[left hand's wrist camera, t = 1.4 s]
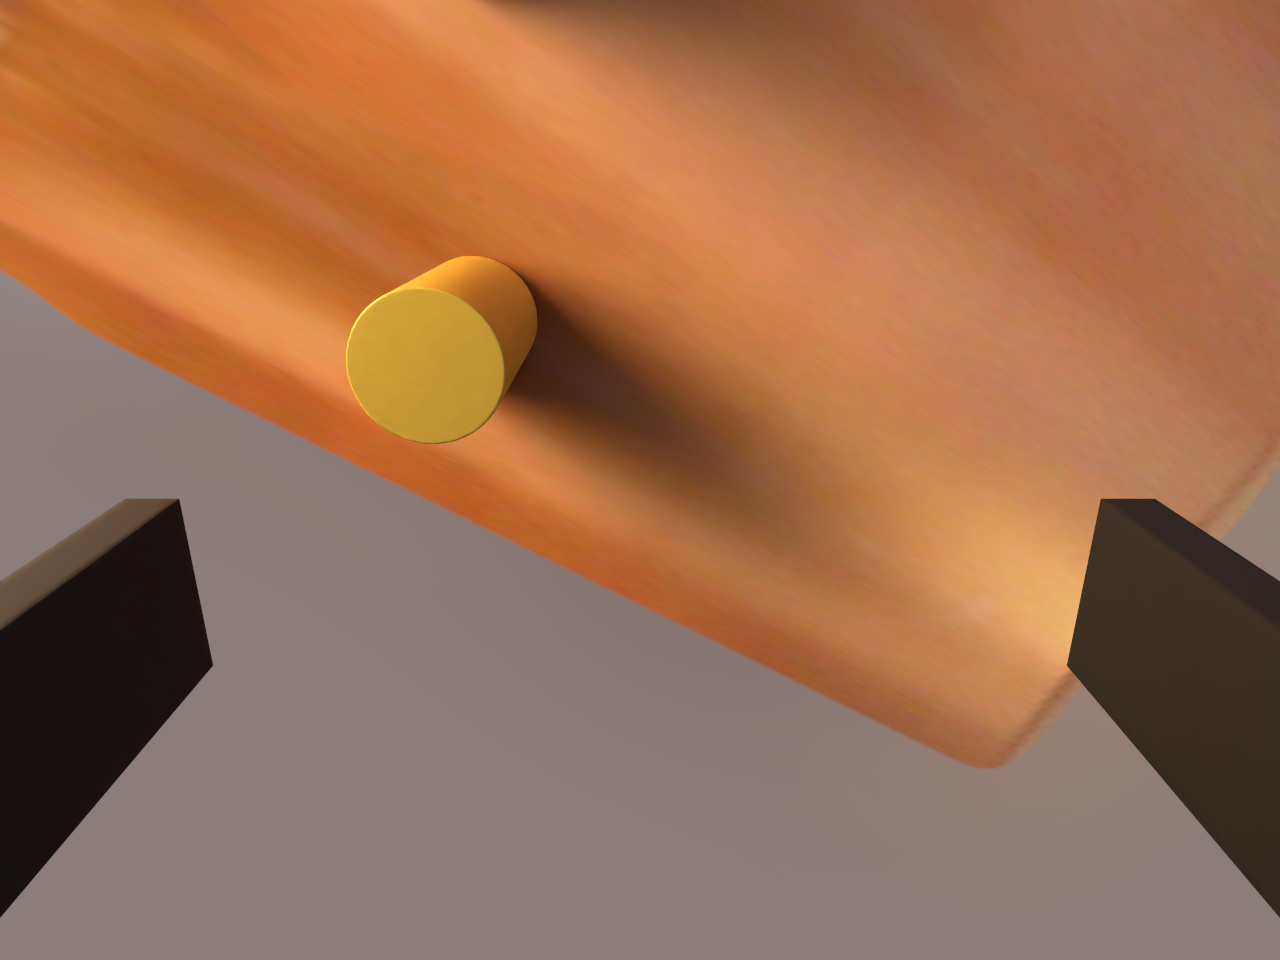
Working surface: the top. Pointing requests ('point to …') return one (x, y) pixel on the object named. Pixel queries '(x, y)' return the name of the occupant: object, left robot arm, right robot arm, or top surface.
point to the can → (442, 349)
